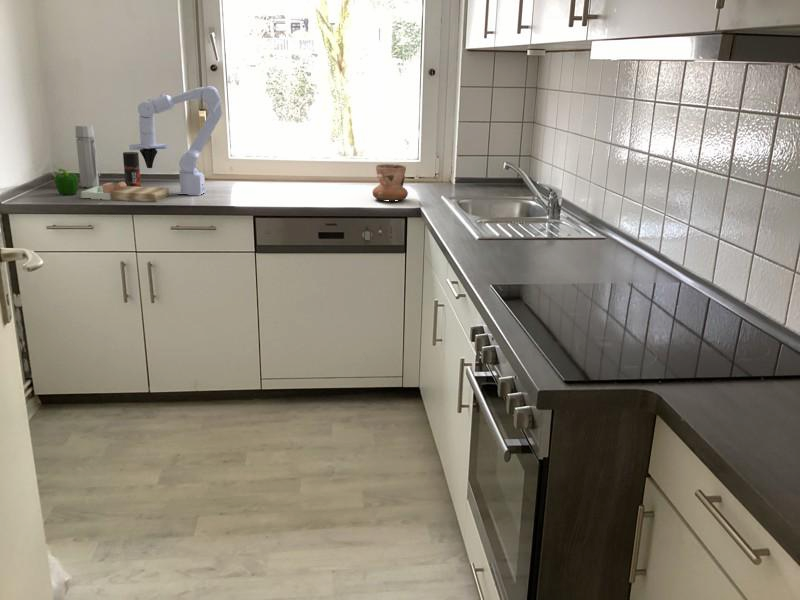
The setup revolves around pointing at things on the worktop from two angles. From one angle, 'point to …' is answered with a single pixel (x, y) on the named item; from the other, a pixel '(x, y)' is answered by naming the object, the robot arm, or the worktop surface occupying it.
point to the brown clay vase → (390, 182)
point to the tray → (95, 193)
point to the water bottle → (87, 156)
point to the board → (140, 193)
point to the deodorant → (132, 169)
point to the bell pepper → (66, 183)
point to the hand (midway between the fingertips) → (149, 167)
